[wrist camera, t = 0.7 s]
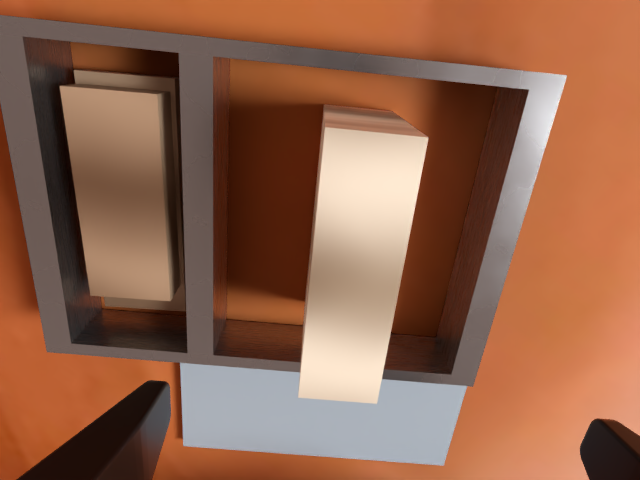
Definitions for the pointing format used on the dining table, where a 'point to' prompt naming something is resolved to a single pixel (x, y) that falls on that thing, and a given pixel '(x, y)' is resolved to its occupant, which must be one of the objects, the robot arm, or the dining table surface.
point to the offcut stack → (128, 185)
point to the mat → (316, 417)
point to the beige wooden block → (357, 249)
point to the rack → (212, 203)
